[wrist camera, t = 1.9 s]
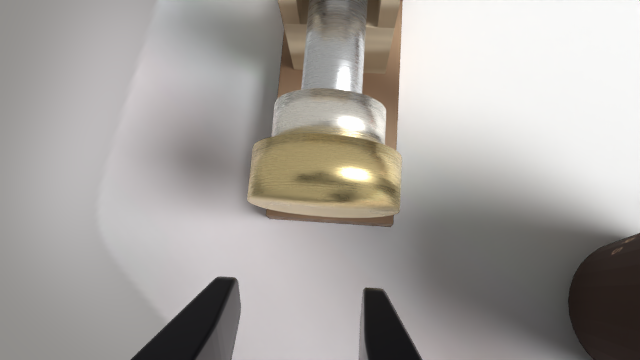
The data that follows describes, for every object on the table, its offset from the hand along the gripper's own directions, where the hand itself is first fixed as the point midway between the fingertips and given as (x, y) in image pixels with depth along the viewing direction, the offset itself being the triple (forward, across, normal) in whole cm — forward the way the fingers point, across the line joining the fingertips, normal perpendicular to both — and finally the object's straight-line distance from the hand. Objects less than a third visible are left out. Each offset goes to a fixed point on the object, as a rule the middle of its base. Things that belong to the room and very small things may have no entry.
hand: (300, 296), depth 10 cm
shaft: (+11, 0, +1) cm, 11 cm away
